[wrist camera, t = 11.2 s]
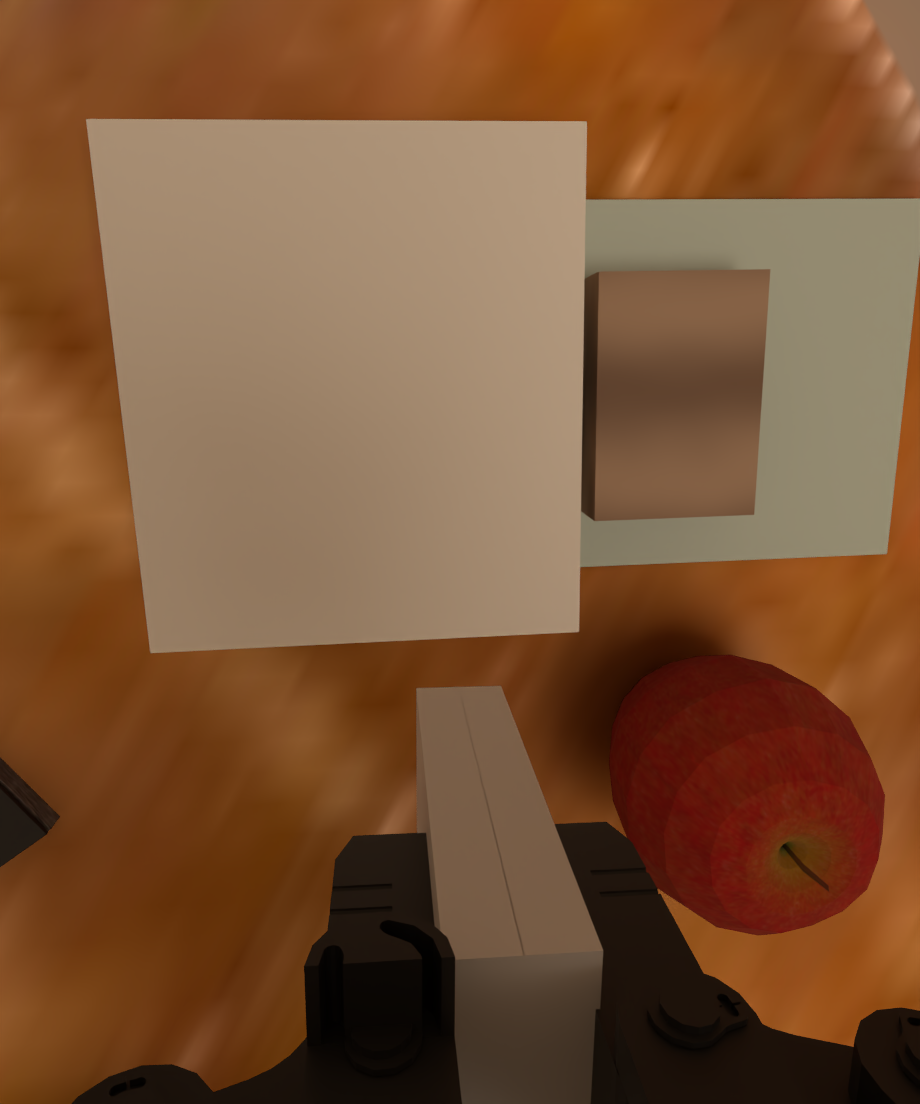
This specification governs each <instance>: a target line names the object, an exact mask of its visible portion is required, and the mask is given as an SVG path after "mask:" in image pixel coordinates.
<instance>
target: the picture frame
mask: <svg viewBox="0 0 920 1104" xmlns="http://www.w3.org/2000/svg"><path fill="white" fill-rule="evenodd" d="M59 817H60V816H59V815H58V814H57V813H56V812H55V811H54V810H53V809H52V808H51V807H50V806H49V805H48V804H47V803H46V802H45V801H44V800H43V799H42V798H41V797H40V796H39V795H38V794H37V793H36V792H35V791H34V790H33V789H32V788H30V787H29V786H28V785H27V784H26V783H25V782H24V781H23V780H22V779H21V778H20V777H19V776H18V775H17V774H16V773H15V772H14V771H13V770H12V769H11V768H10V767H9V766H8V765H7V764H6V763H5V762H4V761H3V760H2V759H1V758H0V867H1V866H2V865H4V864H5V863H7V862H8V861H9V860H11V859H12V858H14V857H15V856H16V855H18V854H19V853H21V852H22V851H24V850H25V849H26V848H28V847H29V846H31V845H32V844H33V843H35V842H36V841H38V840H39V839H41V838H42V837H43V836H45V835H46V834H47V833H48V831H49V830H50V829H51V828H52V827H53V825H54V824H55V823H56V821H57V820H58V819H59Z"/></svg>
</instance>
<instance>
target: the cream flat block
mask: <svg viewBox="0 0 920 1104" xmlns="http://www.w3.org/2000/svg"><path fill="white" fill-rule="evenodd" d="M86 123H87V131H88V139H89V148H90V156H91V164H92V172H93V181H94V189H95V197H96V206H97V214H98V222H99V231H100V239H101V247H102V256H103V264H104V272H105V280H106V289H107V297H108V305H109V314H110V322H111V330H112V339H113V347H114V355H115V364H116V372H117V380H118V388H119V397H120V405H121V413H122V422H123V430H124V438H125V447H126V455H127V463H128V472H129V480H130V488H131V496H132V505H133V513H134V521H135V530H136V538H137V546H138V555H139V563H140V571H141V580H142V588H143V596H144V604H145V613H146V621H147V629H148V638H149V646H150V653H163V652H184V651H204V650H224V649H244V648H264V647H285V646H305V645H325V644H345V643H366V642H386V641H406V640H426V639H446V638H467V637H487V636H507V635H527V634H548V633H568V632H579V603H580V538H581V474H582V409H583V344H584V279H585V214H586V149H587V122H582V121H385V120H188V119H86Z"/></svg>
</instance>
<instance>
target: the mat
mask: <svg viewBox="0 0 920 1104" xmlns="http://www.w3.org/2000/svg"><path fill="white" fill-rule="evenodd" d="M919 256H920V199H659V200H586V214H585V278H587V277H589V276H591V275H593V274H595V273H597V272H602V271H677V270H751V269H770V283H769V298H768V314H767V329H766V344H765V359H764V374H763V390H762V405H761V420H760V435H759V450H758V466H757V481H756V496H755V511H754V515H738V516H713V517H688V518H663V519H638V520H613V521H594V520H592V519H591V518H590V517H588V516H587V515H585V514H584V513H583V512H581V538H580V567H592V566H615V565H639V564H662V563H686V562H709V561H733V560H756V559H780V558H803V557H827V556H850V555H874V554H887V548H888V539H889V529H890V520H891V511H892V502H893V493H894V484H895V475H896V466H897V456H898V447H899V438H900V429H901V420H902V411H903V402H904V393H905V383H906V374H907V365H908V356H909V347H910V338H911V329H912V320H913V310H914V301H915V292H916V283H917V274H918V265H919Z"/></svg>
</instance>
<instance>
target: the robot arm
mask: <svg viewBox="0 0 920 1104" xmlns="http://www.w3.org/2000/svg"><path fill="white" fill-rule="evenodd" d="M416 732H417V833H407V834H385V835H363V836H353V837H352V838H351V840H350V841H349V842H348V844H347V845H346V846H345V848H344V849H343V850H342V852H341V853H340V854H339V855H338V857H337V858H336V859H335V868H334V877H333V889H332V896H331V905H330V915H329V923H328V931H327V932H326V933H325V934H324V935H323V936H322V937H321V938H320V939H319V940H318V941H317V942H316V943H315V944H314V945H313V946H312V948H311V951H310V953H309V956H308V958H307V961H306V963H305V966H304V973H305V999H306V1025H307V1037H306V1039H305V1040H304V1041H303V1042H302V1043H301V1044H300V1045H299V1047H298V1048H297V1049H296V1050H295V1051H294V1052H293V1053H292V1054H291V1055H290V1056H289V1057H287V1058H286V1059H284V1060H283V1061H282V1062H280V1063H279V1064H277V1065H276V1066H275V1067H273V1068H272V1069H270V1070H268V1071H266V1072H264V1073H261V1074H259V1075H257V1076H255V1077H253V1078H251V1079H249V1080H246V1081H243V1082H240V1083H238V1084H235V1085H232V1086H229V1087H227V1088H224V1089H221V1090H218V1091H216V1092H212V1090H211V1089H210V1088H209V1087H208V1086H207V1085H206V1084H205V1082H204V1081H203V1080H202V1079H201V1078H200V1077H199V1076H198V1074H197V1073H194V1072H191V1071H189V1070H186V1069H183V1068H180V1067H178V1066H175V1065H172V1064H171V1065H145V1066H139V1067H136V1068H133V1069H130V1070H127V1071H124V1072H121V1073H118V1074H116V1075H113V1076H110V1077H108V1078H106V1079H105V1080H103V1081H102V1082H100V1083H99V1084H97V1085H95V1086H94V1087H92V1088H91V1089H89V1090H88V1091H86V1092H85V1093H83V1094H82V1095H80V1096H78V1097H77V1098H76V1099H75V1101H74V1102H73V1103H72V1104H920V1011H917V1010H912V1009H907V1008H893V1009H883V1010H876V1011H875V1012H873V1013H872V1014H870V1015H869V1016H867V1017H866V1018H864V1019H863V1020H861V1021H860V1024H859V1027H858V1030H857V1034H856V1037H855V1041H854V1047H851V1046H846V1045H841V1044H836V1043H831V1042H826V1041H821V1040H816V1039H811V1038H806V1037H801V1036H796V1035H792V1034H789V1033H785V1032H782V1031H778V1030H775V1029H772V1028H770V1027H767V1026H765V1025H763V1024H762V1023H761V1021H760V1019H759V1018H758V1016H757V1014H756V1013H755V1012H754V1011H753V1009H752V1008H751V1007H750V1006H749V1005H748V1003H747V1002H746V1001H745V1000H744V999H743V997H742V996H741V995H740V994H739V993H738V992H736V991H735V990H733V989H732V988H730V987H729V986H727V985H726V984H724V983H723V982H721V981H720V980H718V979H717V978H715V977H712V976H709V975H706V974H704V973H703V972H702V970H701V968H700V966H699V964H698V962H697V960H696V959H695V957H694V955H693V953H692V951H691V949H690V948H689V946H688V944H687V942H686V940H685V938H684V937H683V935H682V933H681V931H680V929H679V927H678V926H677V924H676V922H675V920H674V918H673V916H672V914H671V913H670V911H669V909H668V907H667V905H666V903H665V902H664V900H663V898H662V896H661V894H658V890H657V887H656V885H655V883H654V881H653V880H652V878H651V876H650V874H649V873H647V872H646V867H645V865H644V863H643V861H642V859H641V857H640V856H639V854H638V852H637V850H636V848H635V846H634V845H633V843H632V842H631V841H630V840H629V839H627V838H626V837H625V836H624V835H622V834H621V833H620V832H619V831H617V830H616V829H615V828H614V827H612V826H611V825H610V824H608V823H607V822H592V823H569V824H554V822H553V819H552V817H551V814H550V812H549V809H548V806H547V804H546V801H545V799H544V796H543V793H542V791H541V788H540V786H539V783H538V781H537V778H536V775H535V773H534V770H533V768H532V765H531V762H530V760H529V757H528V755H527V752H526V749H525V747H524V744H523V742H522V739H521V737H520V734H519V731H518V729H517V726H516V724H515V721H514V718H513V716H512V713H511V711H510V708H509V706H508V703H507V700H506V698H505V695H504V693H503V690H502V687H501V686H477V687H441V688H416Z"/></svg>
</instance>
